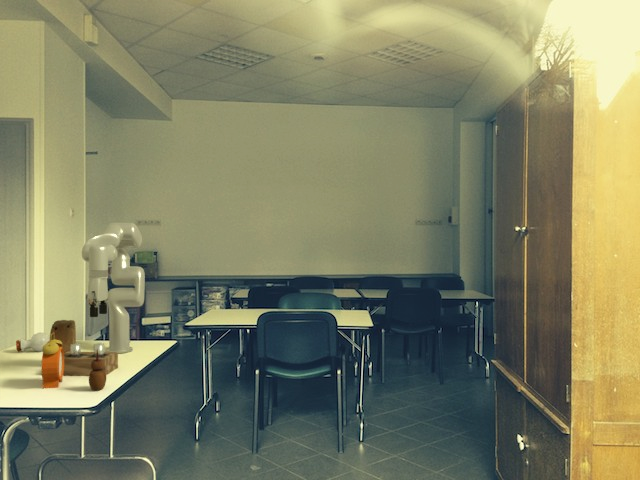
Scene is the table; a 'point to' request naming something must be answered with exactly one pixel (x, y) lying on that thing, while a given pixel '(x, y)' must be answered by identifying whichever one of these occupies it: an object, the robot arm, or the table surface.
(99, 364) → the wooden figurine
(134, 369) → the table surface
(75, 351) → the peg
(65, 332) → the block
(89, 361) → the socket block
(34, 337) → the potion bottle
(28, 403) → the table surface
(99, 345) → the peg
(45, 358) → the alarm clock
